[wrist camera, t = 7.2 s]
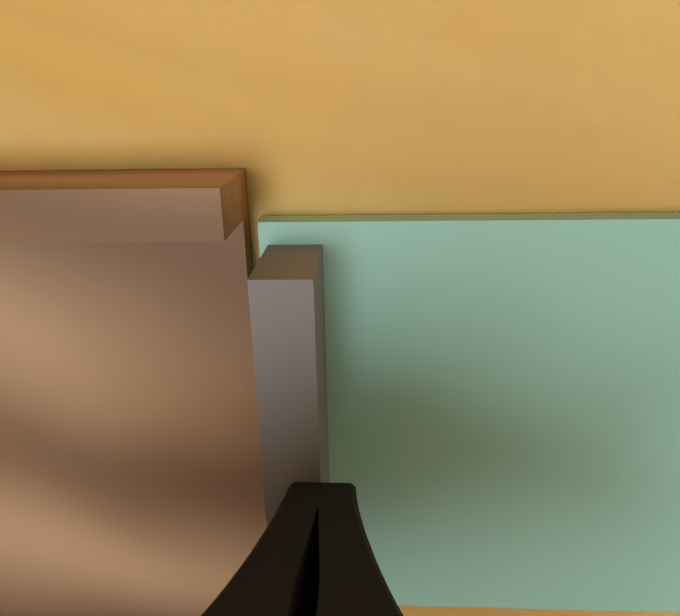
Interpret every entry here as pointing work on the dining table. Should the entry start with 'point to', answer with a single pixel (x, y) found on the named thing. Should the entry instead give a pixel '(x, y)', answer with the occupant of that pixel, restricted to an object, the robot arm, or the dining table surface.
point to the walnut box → (125, 391)
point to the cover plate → (482, 398)
